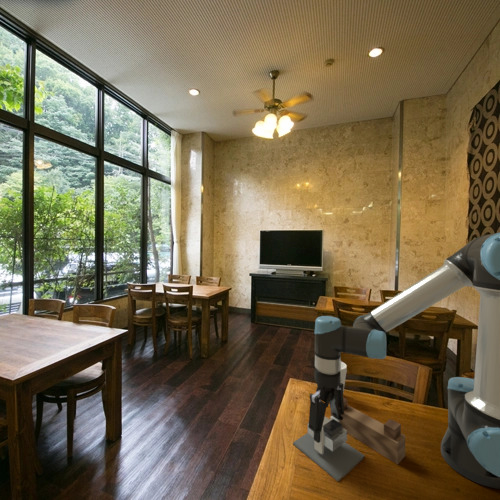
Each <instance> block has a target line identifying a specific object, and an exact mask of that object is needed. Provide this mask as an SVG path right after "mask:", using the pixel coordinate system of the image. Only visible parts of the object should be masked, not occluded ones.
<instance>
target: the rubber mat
mask: <svg viewBox="0 0 500 500" xmlns="http://www.w3.org/2000/svg"><path fill="white" fill-rule="evenodd" d="M292 445H293V446H294V447H296V448H297V449H298V450H299V451H300V452H302V454H304V455H305V456H307V458H309V459H310V460H311V461H312V462H314V463H315V465H317V466H319V467H320V468H321V469H322V470H323V471H325V472H326V473H327V474H328V475H329V476H331V478H333V479H334V480H335V481H337V482H338V481H339V482H340V481H341V480H342V479H343V478H344V477H345V476H347V474H349V473H350V472H351V471H352V470H353V469H354V468H355V467H356V466H357V465H358V464H359V463H360V462H361V461H362V460H364V458H365V454H363V453H362V452H360V451H359V450H357V449H355V448H354V447H352V446H351V445H350V444H349V443H347V442H344V443H343V444H342V445H340V446H339V447H338V448H337V449H335V450H334V451H331V450H330V449H329V448H327V447H326V446H325V445H324V454H320V453H319V452H318V451H317V450H315V449H314V437H312V436H311V435H310V434H308V432H306V433H305V434H304V435H302V436H301V437H299V438H297V439H295V440H294V441H293V442H292ZM342 477H343V478H342ZM341 478H342V479H341ZM340 479H341V480H340Z"/></svg>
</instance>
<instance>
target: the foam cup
mask: <svg viewBox="0 0 500 500" xmlns="http://www.w3.org/2000/svg"><path fill="white" fill-rule="evenodd" d="M347 366H348V365H347V364H346V363H345V362H343V361H341V370H340V373H341V383H343V384H344V386H343V393H344V391H345V385H346V377H347V376H346V375H347V373H348V371H347V369H348V368H347Z"/></svg>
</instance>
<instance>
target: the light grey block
mask: <svg viewBox="0 0 500 500" xmlns="http://www.w3.org/2000/svg"><path fill="white" fill-rule="evenodd" d="M308 426H309V422H308V423H307V433H308V434H310V435H311V436H312V437H314V431H312V430H311V429H310V428H309V427H308ZM322 430H323V431H324V445H325V446H326V447H327V448H329V449H330V450H331V451H334V450H335V449H337V448H338V447H339V446H340V445H342V444H343V443H344V442H345V443H347V441H348V433H347V430H346V429H344V428H343V427H342V424H341V423H339V422H337V421H336V420H334V419H332V420H330V418H328V417H327V416H325V417H324V421H323V426H322Z"/></svg>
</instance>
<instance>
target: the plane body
mask: <svg viewBox="0 0 500 500" xmlns="http://www.w3.org/2000/svg"><path fill="white" fill-rule="evenodd" d="M343 400H344V414H343V415H342V414H341V416H342V417H343V420H340V423H341V424H342V427H343V428H344V429H346V430H347V435H350V436H352V437H353V438H354V439H356V440H357V441H360V442H361V443H363V444H364V445H366V446H367V447H369V448H370V449H372V450H374V451H375V452H377V453H378V454H380V455H381V456H383V457H384V458H385V459H388V460H390V461H391V462H392V463H394V464H396V465H399V464H400V463H401V462H402V461H403V460H404V458H405V457H406V435H405V434H403V433H402V431H401V430H402V428H401V427H402V424H401V423H399V422H398V421H396V420H393V419H391V418H389V419H388V420H387V421H386V422H385V423H382V422H381V421H379V420H377V419H375V418H373V417H371V416H370V415H367V414H365V413H363V412H362V411H360V410H358V409H356V408H355V407H352V406H350V405H349V404H348V399H347V398H345V397H343ZM339 408H340V407H339ZM340 409H341V408H340ZM330 416H333V415H332V412H331V411H330Z"/></svg>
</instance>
